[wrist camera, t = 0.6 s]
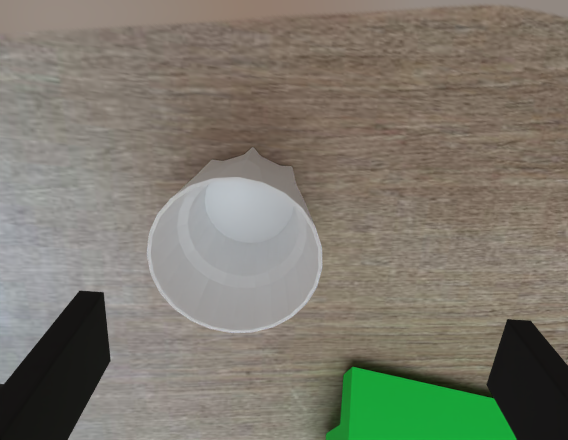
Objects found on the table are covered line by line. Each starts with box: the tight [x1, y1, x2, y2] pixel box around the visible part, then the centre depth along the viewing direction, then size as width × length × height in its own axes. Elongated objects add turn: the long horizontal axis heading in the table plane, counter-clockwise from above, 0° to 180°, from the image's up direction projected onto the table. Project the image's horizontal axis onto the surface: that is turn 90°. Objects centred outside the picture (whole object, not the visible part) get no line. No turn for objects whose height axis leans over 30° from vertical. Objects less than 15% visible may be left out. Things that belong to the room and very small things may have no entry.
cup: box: [147, 147, 322, 333], centre depth 30 cm, size 10×10×10 cm
